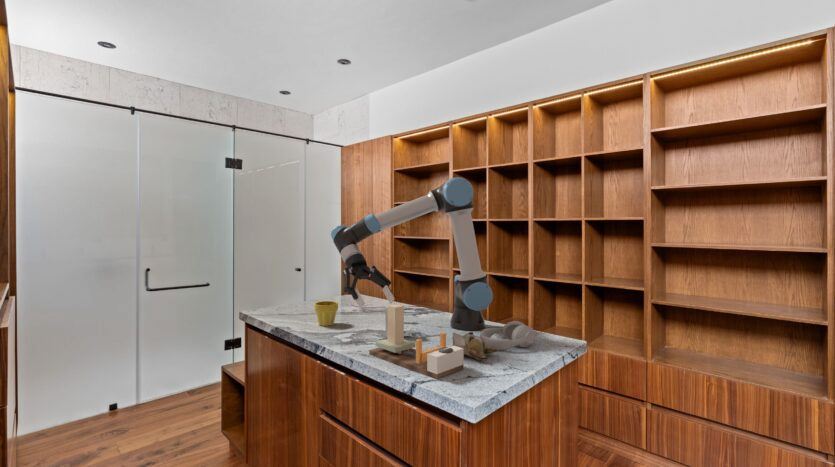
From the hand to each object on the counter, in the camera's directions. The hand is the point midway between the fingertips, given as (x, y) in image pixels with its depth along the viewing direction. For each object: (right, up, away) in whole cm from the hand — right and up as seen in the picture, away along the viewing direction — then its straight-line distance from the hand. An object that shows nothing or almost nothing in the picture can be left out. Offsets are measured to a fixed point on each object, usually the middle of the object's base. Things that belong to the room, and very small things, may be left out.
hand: (377, 303), depth 144 cm
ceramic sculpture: (+33, -17, -7) cm, 38 cm away
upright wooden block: (+7, -15, -6) cm, 17 cm away
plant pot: (-27, -16, +38) cm, 50 cm away
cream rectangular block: (+23, -15, -22) cm, 35 cm away
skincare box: (+4, -17, +19) cm, 26 cm away
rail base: (+13, -17, -12) cm, 24 cm away
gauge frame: (+19, -14, -18) cm, 29 cm away
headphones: (+48, -17, +8) cm, 51 cm away
